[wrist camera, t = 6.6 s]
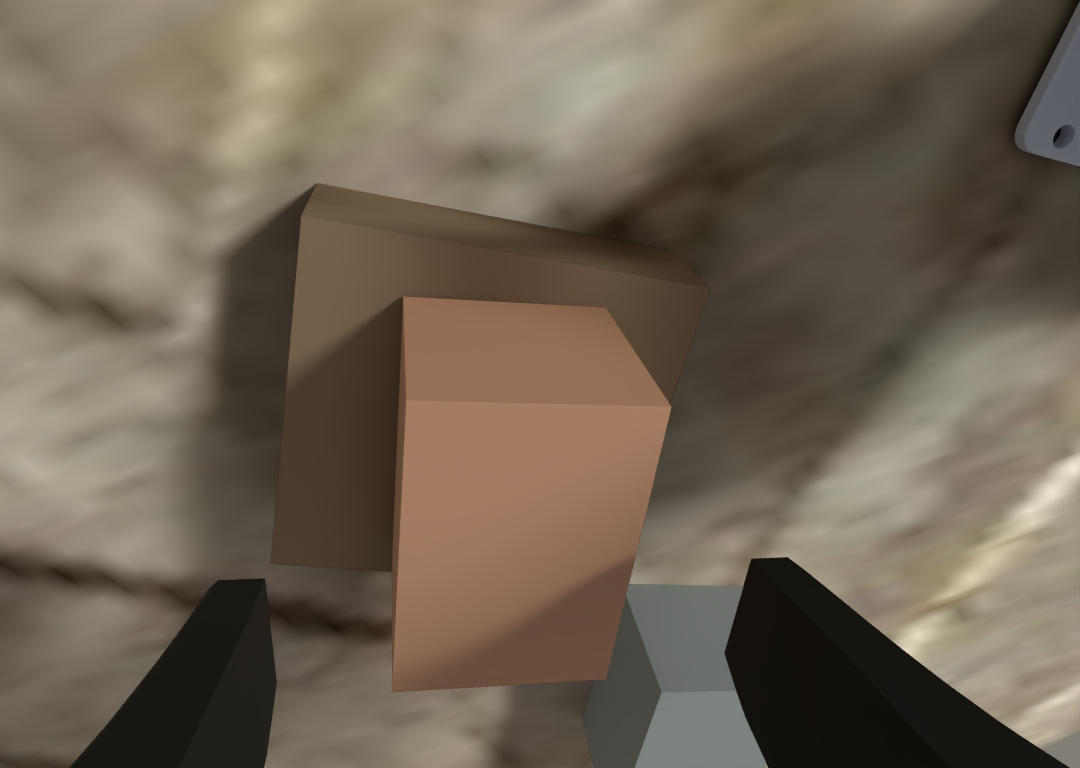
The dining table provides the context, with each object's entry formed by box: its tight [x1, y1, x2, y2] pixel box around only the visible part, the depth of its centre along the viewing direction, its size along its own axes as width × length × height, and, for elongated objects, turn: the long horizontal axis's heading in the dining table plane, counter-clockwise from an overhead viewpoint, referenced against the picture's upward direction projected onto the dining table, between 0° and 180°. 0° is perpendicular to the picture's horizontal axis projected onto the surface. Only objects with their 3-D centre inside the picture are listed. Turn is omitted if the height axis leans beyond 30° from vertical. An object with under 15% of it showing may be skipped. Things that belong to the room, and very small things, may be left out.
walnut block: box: [271, 183, 710, 572], centre depth 17 cm, size 8×8×3 cm
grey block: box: [583, 584, 766, 768], centre depth 22 cm, size 4×6×4 cm, turn 170°
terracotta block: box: [392, 297, 671, 692], centre depth 14 cm, size 4×6×4 cm, turn 173°
